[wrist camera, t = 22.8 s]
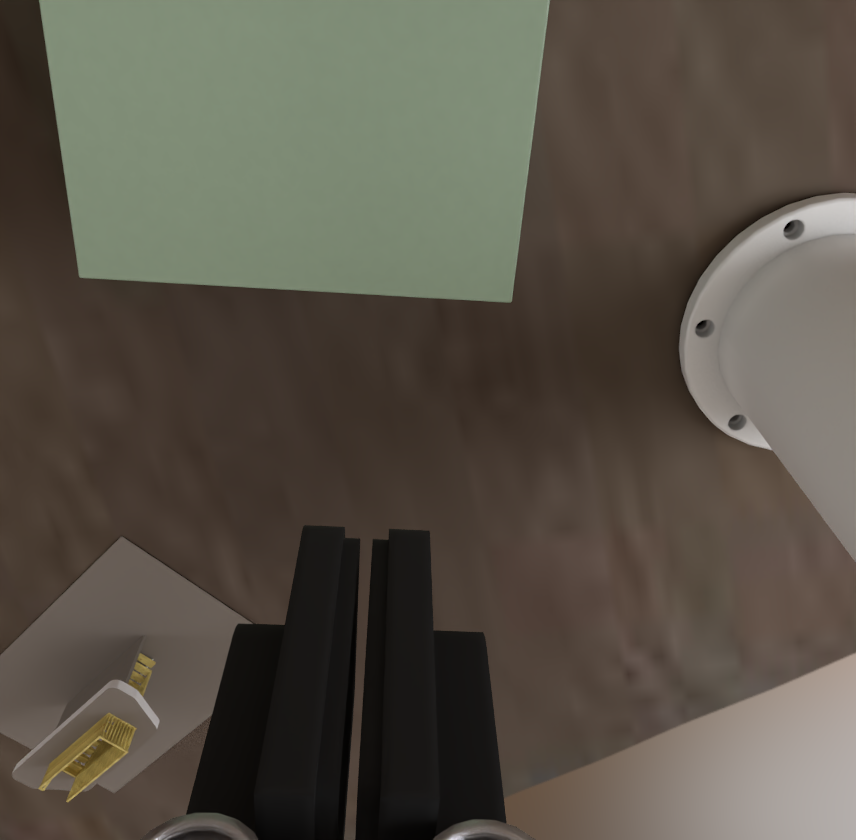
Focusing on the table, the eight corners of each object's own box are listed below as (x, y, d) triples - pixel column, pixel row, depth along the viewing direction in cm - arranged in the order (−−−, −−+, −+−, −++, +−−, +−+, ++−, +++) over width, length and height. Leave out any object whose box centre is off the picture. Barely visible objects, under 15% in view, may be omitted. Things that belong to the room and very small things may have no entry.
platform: (292, 650, 48) (276, 743, 43) (114, 793, 54) (79, 891, 49) (121, 536, 44) (78, 622, 38) (-52, 705, 50) (-111, 802, 44)
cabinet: (105, -293, 27) (-20, -395, 19) (540, -252, 28) (592, -334, 20) (152, 206, 35) (78, 278, 27) (489, 227, 36) (511, 303, 28)
